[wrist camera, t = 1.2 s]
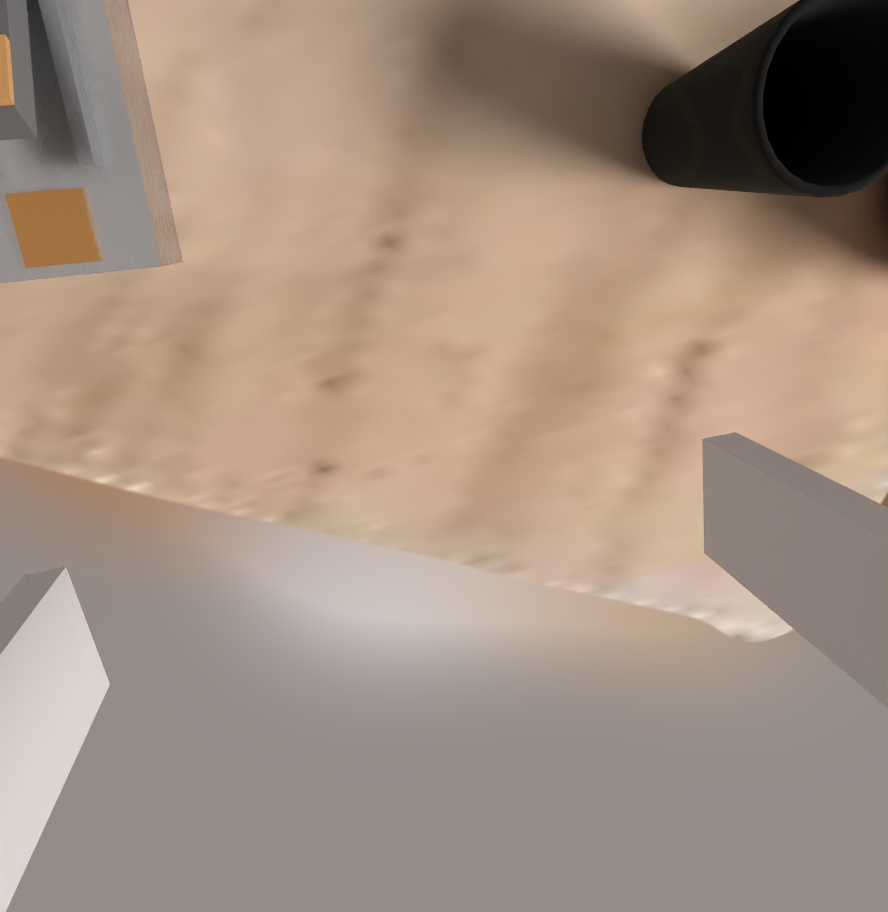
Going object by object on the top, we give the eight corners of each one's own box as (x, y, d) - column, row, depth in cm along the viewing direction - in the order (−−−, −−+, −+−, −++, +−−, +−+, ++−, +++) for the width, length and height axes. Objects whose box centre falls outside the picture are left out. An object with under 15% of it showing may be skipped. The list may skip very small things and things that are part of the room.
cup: (637, 223, 39) (766, 220, 28) (611, 77, 36) (742, 9, 25) (761, 183, 40) (937, 165, 28) (743, 37, 37) (930, -48, 26)
